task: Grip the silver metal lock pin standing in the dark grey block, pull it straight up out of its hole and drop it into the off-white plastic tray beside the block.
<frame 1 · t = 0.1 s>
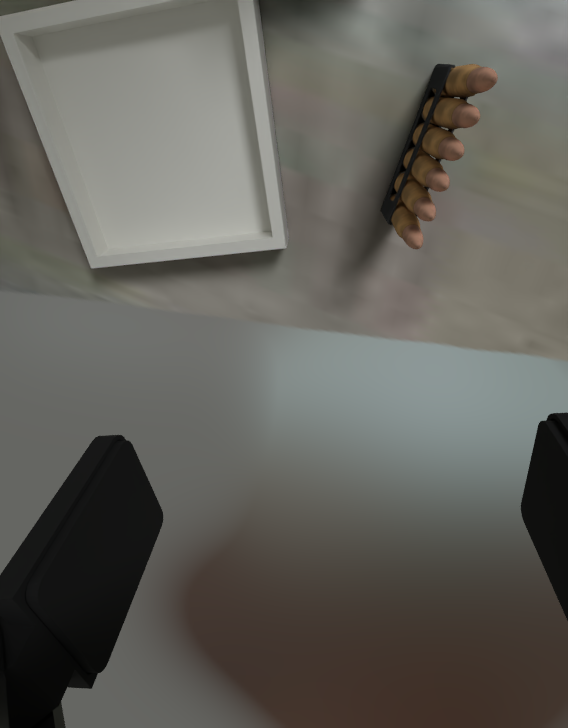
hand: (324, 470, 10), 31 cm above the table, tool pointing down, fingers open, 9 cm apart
tray: (167, 141, 35), on the table
ammunition clip: (416, 147, 34), on the table
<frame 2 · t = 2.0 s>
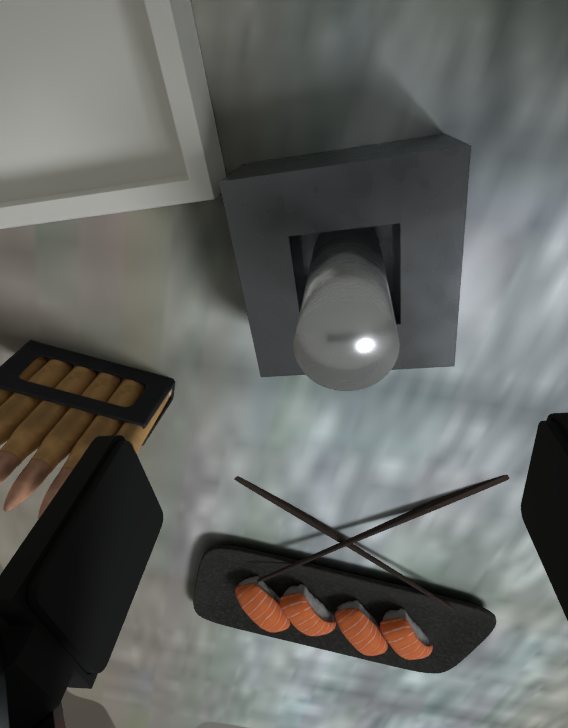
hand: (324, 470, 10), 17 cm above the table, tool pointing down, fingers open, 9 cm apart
lock pin: (346, 254, 23), point 1 cm above the table, touching pin block
pin block: (346, 248, 24), on the table
tray: (0, 8, 20), on the table
ammunition clip: (104, 368, 31), on the table
sushi plate: (358, 555, 40), on the table
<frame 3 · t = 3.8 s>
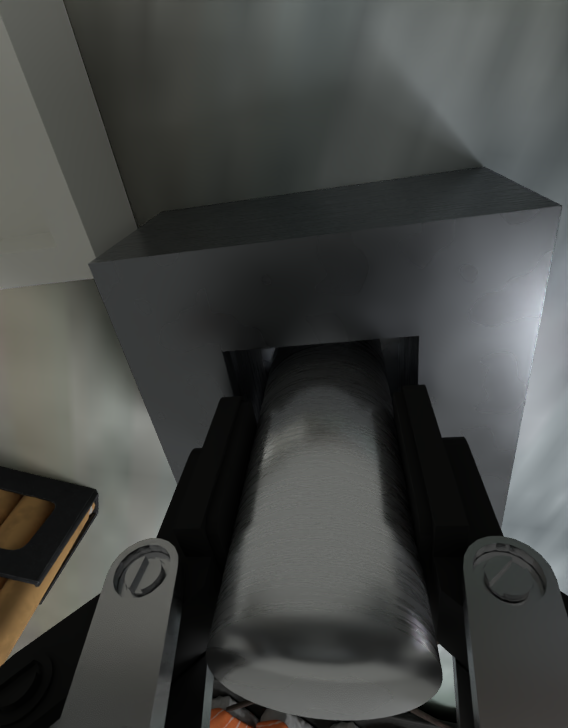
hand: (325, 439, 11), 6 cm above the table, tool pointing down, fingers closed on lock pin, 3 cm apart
lock pin: (327, 346, 15), point 1 cm above the table, touching gripper, pin block
pin block: (328, 332, 16), on the table
ammunition clip: (2, 474, 23), on the table
sushi plate: (353, 672, 32), on the table
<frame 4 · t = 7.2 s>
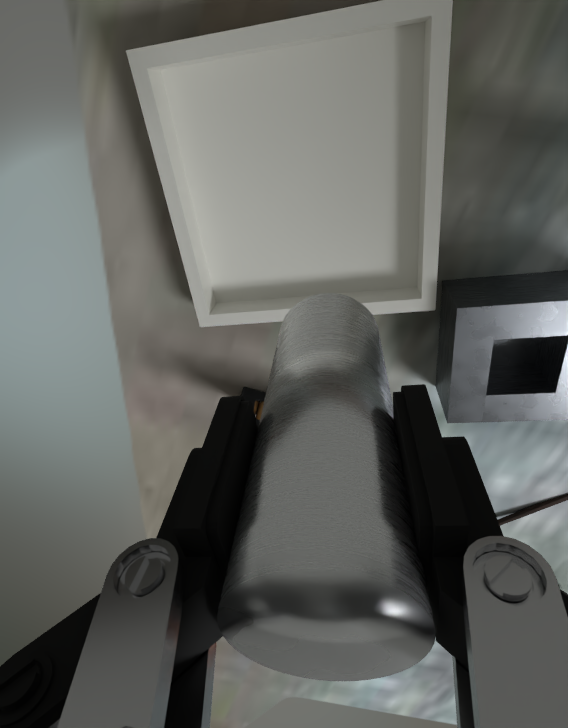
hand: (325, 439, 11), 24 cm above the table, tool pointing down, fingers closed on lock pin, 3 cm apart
lock pin: (328, 339, 15), point 19 cm above the table, touching gripper
pin block: (503, 333, 34), on the table
tray: (301, 186, 30), on the table
ammunition clip: (294, 407, 41), on the table
sushi plate: (461, 548, 51), on the table
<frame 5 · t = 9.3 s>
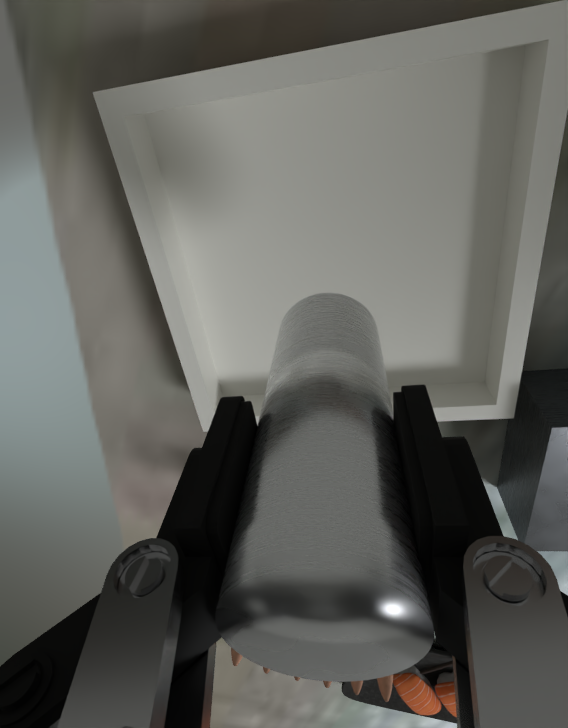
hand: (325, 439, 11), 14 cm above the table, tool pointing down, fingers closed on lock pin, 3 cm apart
lock pin: (327, 338, 15), point 9 cm above the table, touching gripper
tray: (336, 259, 23), on the table
ammunition clip: (319, 505, 34), on the table
sushi plate: (512, 646, 43), on the table
when the fingers open (8 cm above the table, at t = 10.8 s): lock pin drops 1 cm, resting on tray.
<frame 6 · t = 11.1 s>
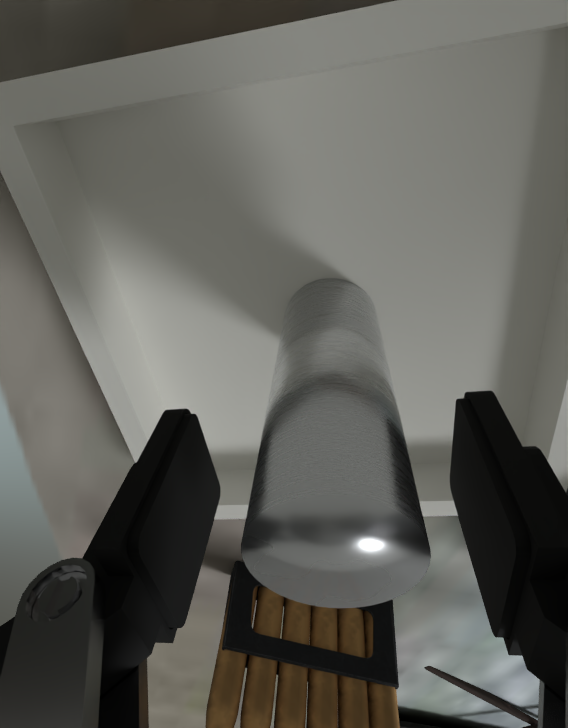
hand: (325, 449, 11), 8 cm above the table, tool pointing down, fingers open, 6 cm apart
lock pin: (330, 321, 17), point 1 cm above the table, touching tray
tray: (328, 311, 17), on the table
ammunition clip: (311, 583, 28), on the table
sushi plate: (534, 721, 38), on the table
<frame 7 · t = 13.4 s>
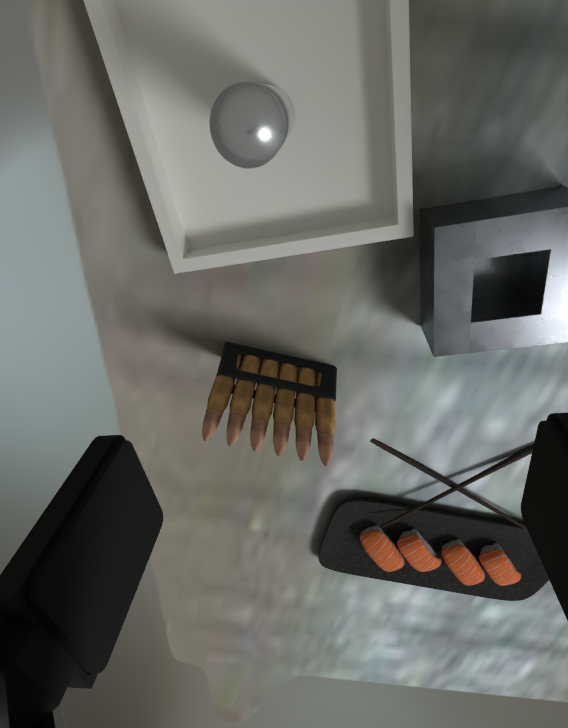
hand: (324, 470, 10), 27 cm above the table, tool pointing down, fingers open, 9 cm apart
lock pin: (268, 116, 29), point 1 cm above the table, touching tray
pin block: (485, 263, 34), on the table
tray: (268, 115, 29), on the table
ammunition clip: (279, 361, 40), on the table
sushi plate: (461, 500, 50), on the table
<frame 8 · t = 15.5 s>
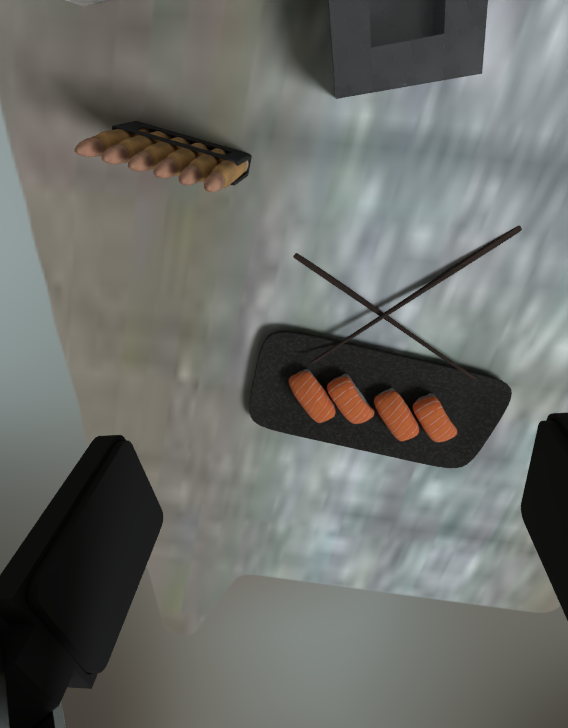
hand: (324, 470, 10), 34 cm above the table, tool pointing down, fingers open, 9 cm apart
pin block: (397, 7, 31), on the table
ammunition clip: (193, 148, 38), on the table
sushi plate: (394, 342, 47), on the table
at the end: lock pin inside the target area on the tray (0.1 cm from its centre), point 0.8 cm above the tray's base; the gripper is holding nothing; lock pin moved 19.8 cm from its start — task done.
